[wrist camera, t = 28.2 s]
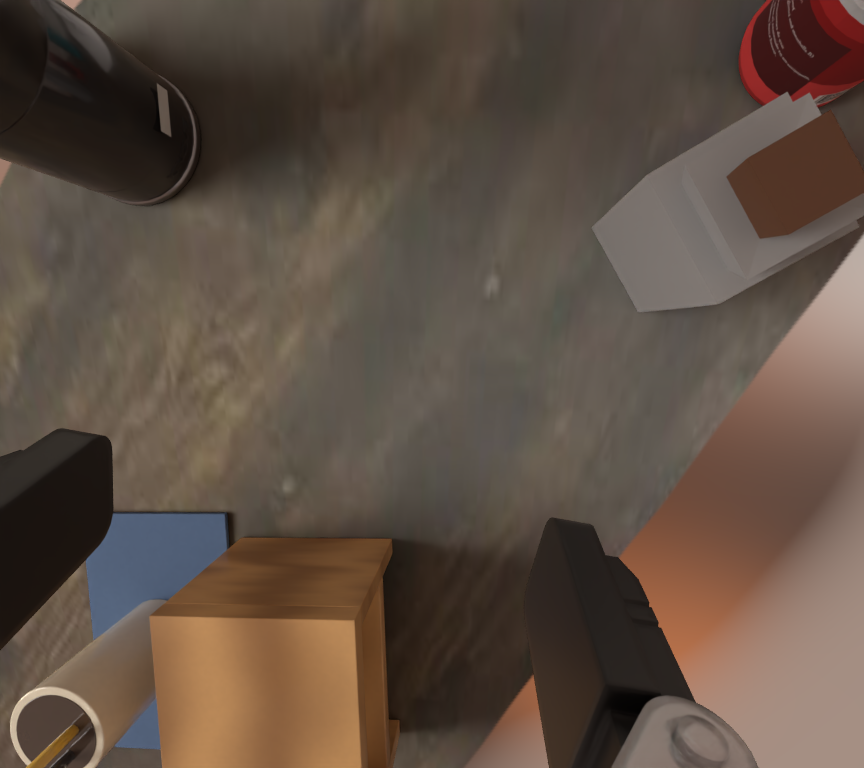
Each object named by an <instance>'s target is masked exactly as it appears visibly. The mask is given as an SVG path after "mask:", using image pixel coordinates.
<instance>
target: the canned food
mask: <svg viewBox="0 0 864 768" xmlns="http://www.w3.org/2000/svg"><path fill="white" fill-rule="evenodd" d="M739 72H740V76H741V80H742V82H743V84H744V86H745V89H746V90H747V91H748V93H749V94H750V95H751V97H752V98H753V99H755V100H756V101H757V102H758V103H759V104H761V105H763V106H764V105H766V104H767V103H769V102H771V101H772V100H774V99H776V98H778V97H779V96H781V95H783V94H784V93H786V92H788V94H789V96H790V97H791V99H792V101H793V102H794V101H796V100H798V99H799V98H801V97H803V96H804V95H806V94H808V93H809V92H810V94H811V96H812V98H813V100H814V102H815V104H816V106H817V107H821V106H823V105H825V104H827V103H829V102H831V101H833V100H834V99H836V98H838V97H839V96H841V95H842V94H844V93H845V92H847V91H849V90H850V89H852V88H853V87H855V86H856V85H858V84H859V83H861V82H862V81H864V0H767V1H766V2H765V3H764V4H763V5H762V7H761V8H760V9H759V10H758V11H757V13H756V14H755V15H754V16H753V18H752V20H751V22H750V23H749V25H748V27H747V29H746V32H745V34H744V37H743V40H742V43H741V48H740V53H739Z"/></svg>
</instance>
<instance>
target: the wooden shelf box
mask: <svg viewBox="0 0 864 768" xmlns="http://www.w3.org/2000/svg"><path fill="white" fill-rule="evenodd" d="M392 553H393V550H392V539H370V538H240V539H239V540H238V541H237V542H236V543H235V544H233V545H232V546H231V547H230V548H229V549H227V550H226V551H225V552H224V553H223V554H222V555H220V556H219V557H218V558H217V559H216V560H215V561H213V562H212V563H211V564H210V565H209V566H208V567H206V568H205V569H204V570H203V571H202V572H201V573H199V574H198V575H197V576H196V577H195V578H194V579H192V580H191V581H190V582H189V583H188V584H186V585H185V586H184V587H183V588H182V589H181V590H179V591H178V592H177V593H176V594H175V595H174V596H172V597H171V598H170V599H169V600H168V601H167V602H165V604H163V605H162V606H161V607H159V608H158V609H157V610H156V611H155V612H153V613H152V614H151V615H150V616H149V618H150V630H151V641H152V653H153V665H154V676H155V688H156V699H157V711H158V723H159V734H160V746H161V758H162V768H393V763H394V759H395V754H396V749H397V745H398V740H399V735H400V724H399V720H389V714H388V690H387V666H386V642H385V619H384V595H383V578H382V577H383V574H384V572H385V570H386V567H387V565H388V563H389V560H390V558H391V555H392Z"/></svg>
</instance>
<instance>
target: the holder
mask: <svg viewBox="0 0 864 768" xmlns="http://www.w3.org/2000/svg"><path fill="white" fill-rule="evenodd" d="M165 602H167V600H162V599H154V600H148V601H145V602H142V603H141V604H139V605H138V606H136V607H135V608H134V609H132V610H131V611H130V612H129V613H127V614H126V615H125V616H124V617H122V618H121V619H120V620H119V621H117V622H116V623H115V624H113V625H112V626H111V627H110V628H108V629H107V630H106V631H105V632H103V633H102V634H101V635H100V636H98V637H97V638H96V639H95V640H93V641H92V642H91V643H90V644H88V645H87V646H86V647H85V648H83V649H82V650H81V651H79V652H78V653H77V654H76V655H74V656H73V657H72V658H71V659H69V660H68V661H67V662H66V663H64V664H63V665H62V666H61V667H59V668H58V669H57V670H56V671H54V672H53V673H52V674H51V675H49V676H48V677H47V678H45V679H44V680H43V681H42V682H40V683H39V684H38V685H37V686H35V687H34V688H33V689H32V690H30V691H29V692H28V693H27V694H25V695H24V696H23V697H22V698H21V699H20V700H19V702H18V703H17V704H16V706H15V708H14V710H13V713H12V716H11V721H10V732H11V738H12V742H13V745H14V747H15V749H16V751H17V753H18V755H19V756H20V758H21V759H22V760H23V761H24V763H25V764H26V765H27V767H26V768H95V767H96V766H97V765H98V764H99V763H100V762H101V761H102V759H103V758H104V757H105V756H106V755H107V754H108V753H109V752H110V751H111V749H112V748H113V747H114V746H115V745H116V744H117V743H118V742H119V740H120V739H121V738H122V737H123V736H124V735H125V734H126V733H127V731H128V730H129V729H130V728H131V727H132V726H133V725H134V724H135V722H136V721H137V720H138V719H139V718H140V717H141V716H142V715H143V714H144V712H145V711H146V710H147V709H148V708H149V707H150V706H151V705H152V703H153V702H154V701H155V700H156V688H155V676H154V665H153V653H152V641H151V630H150V618H149V616H150V615H151V614H152V613H153V612H155V611H156V610H157V609H158V608H159V607H161V606H162V605H163V604H165Z"/></svg>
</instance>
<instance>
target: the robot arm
mask: <svg viewBox="0 0 864 768" xmlns="http://www.w3.org/2000/svg"><path fill="white" fill-rule="evenodd" d="M200 147H201V136H200V128H199V123H198V120H197V117H196V114H195V112H194V110H193V107H192V106H191V104H190V102H189V101H188V99H187V98H186V97H185V96H184V94H183V93H182V92H181V91H180V90H179V89H178V88H177V87H175V86H174V85H173V84H172V83H170V82H169V81H168V80H166V79H165V78H163V77H162V76H160V75H158V74H156V73H155V72H154V71H152V70H151V69H150V68H148V67H147V66H146V65H145V64H143V63H142V62H141V61H140V60H138V59H137V58H136V57H134V56H133V55H132V54H130V53H129V52H128V51H127V50H125V49H124V48H123V47H121V46H120V45H119V44H117V43H116V42H115V41H113V40H112V39H111V38H109V37H108V36H107V35H106V34H104V33H103V32H102V31H100V30H99V29H98V28H96V27H95V26H94V25H92V24H91V23H90V22H88V21H87V20H86V19H85V18H83V17H82V16H81V15H79V14H78V13H77V12H75V11H74V10H73V9H71V8H70V7H69V6H67V5H66V4H65V3H64V2H62V1H61V0H0V158H1V159H4V160H6V161H9V162H12V163H15V164H18V165H21V166H24V167H26V168H29V169H32V170H35V171H38V172H41V173H44V174H47V175H50V176H52V177H55V178H58V179H61V180H64V181H67V182H70V183H73V184H76V185H78V186H81V187H84V188H87V189H89V190H92V191H95V192H98V193H101V194H104V195H106V196H108V197H110V198H112V199H115V200H117V201H120V202H123V203H126V204H130V205H136V206H148V205H154V204H158V203H161V202H163V201H166V200H168V199H169V198H171V197H173V196H174V195H175V194H177V193H178V192H179V191H180V190H181V189H182V188H183V187H184V186H185V185H186V184H187V182H188V181H189V179H190V178H191V176H192V174H193V172H194V170H195V168H196V166H197V162H198V159H199V154H200ZM112 517H113V466H112V445H111V442H110V440H109V439H108V438H107V437H106V436H102V435H97V434H91V433H86V432H80V431H74V430H69V429H63V428H62V429H57V430H55V431H53V432H51V433H50V434H48V435H47V436H45V437H44V438H42V439H41V440H39V441H37V442H36V443H34V444H33V445H31V446H30V447H28V448H27V449H25V450H24V451H23V450H18V451H15V452H13V453H10V454H7V455H4V456H1V457H0V650H1V649H2V648H3V647H4V646H5V645H6V644H7V643H8V642H9V641H10V639H11V638H12V637H13V636H14V635H15V634H16V633H17V632H18V631H19V630H20V629H21V628H22V627H23V626H24V625H25V624H26V623H27V621H28V620H29V619H30V618H31V617H32V616H33V615H34V614H35V613H36V612H37V611H38V610H39V609H40V608H41V607H42V606H43V605H44V604H45V602H46V601H47V600H48V599H49V598H50V597H51V596H52V595H53V594H54V593H55V592H56V591H57V590H58V589H59V588H60V587H61V586H62V584H63V583H64V582H65V581H66V580H67V579H68V578H69V577H70V576H71V575H72V574H73V573H74V572H75V571H76V570H77V569H78V568H79V566H80V565H81V564H82V563H83V562H84V561H85V560H86V559H87V558H88V557H89V556H90V555H91V554H92V553H93V552H94V551H95V550H96V548H97V547H98V546H99V545H100V544H101V543H102V541H103V540H104V538H105V536H106V534H107V532H108V530H109V527H110V525H111V521H112ZM524 620H525V626H526V632H527V638H528V644H529V650H530V656H531V662H532V668H533V674H534V680H535V686H536V692H537V698H538V704H539V710H540V716H541V722H542V728H543V734H544V740H545V746H546V752H547V758H548V764H549V768H758V766H757V763H756V761H755V759H754V757H753V755H752V753H751V751H750V750H749V748H748V747H747V745H746V744H745V742H744V741H743V740H742V739H741V737H740V736H739V735H738V734H737V733H736V732H735V731H734V729H732V727H731V726H729V725H728V724H727V723H726V722H725V721H724V720H723V719H721V718H720V717H719V716H717V715H716V714H715V713H713V712H712V711H710V710H709V709H707V708H705V707H703V706H702V705H700V704H698V703H696V702H695V700H694V698H693V696H692V693H691V691H690V689H689V687H688V685H687V683H686V680H685V679H684V676H683V674H682V672H681V670H680V668H679V666H678V663H677V661H676V659H675V657H674V655H673V653H672V650H671V648H670V646H669V644H668V642H667V640H666V638H665V635H664V633H663V631H662V629H661V628H659V627H658V620H657V618H656V616H655V614H654V612H653V610H652V608H651V607H649V601H648V599H647V597H646V595H645V592H644V590H643V588H642V586H641V584H640V582H639V579H637V577H636V576H635V575H634V574H633V573H632V572H631V571H630V570H629V569H628V568H627V567H626V566H625V565H624V563H623V562H622V561H621V560H620V559H619V558H618V557H613V556H607V555H605V553H604V551H603V548H602V546H601V543H600V541H599V538H598V536H597V533H596V531H595V529H594V527H593V526H592V525H591V524H586V523H580V522H575V521H569V520H563V519H558V518H550V519H549V520H548V521H547V523H546V525H545V528H544V531H543V535H542V538H541V541H540V544H539V547H538V551H537V554H536V557H535V560H534V563H533V567H532V570H531V573H530V576H529V580H528V583H527V587H526V592H525V599H524Z"/></svg>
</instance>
